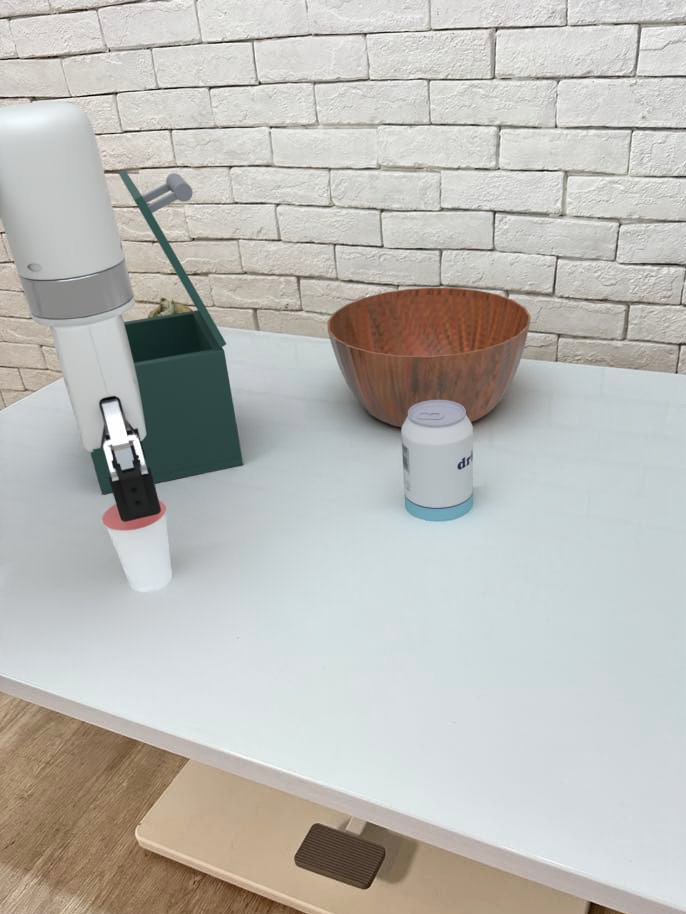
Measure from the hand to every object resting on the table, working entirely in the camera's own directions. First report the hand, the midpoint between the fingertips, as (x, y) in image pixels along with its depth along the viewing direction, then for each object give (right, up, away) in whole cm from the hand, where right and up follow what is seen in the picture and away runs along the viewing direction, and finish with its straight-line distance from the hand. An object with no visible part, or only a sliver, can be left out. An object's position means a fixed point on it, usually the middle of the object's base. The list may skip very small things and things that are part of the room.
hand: (134, 488), depth 73 cm
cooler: (-6, +6, +30) cm, 31 cm away
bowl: (+26, +13, +38) cm, 48 cm away
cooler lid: (-2, +26, +19) cm, 32 cm away
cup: (0, -10, +6) cm, 11 cm away
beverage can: (+27, -2, +15) cm, 31 cm away
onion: (-13, +26, +61) cm, 67 cm away
